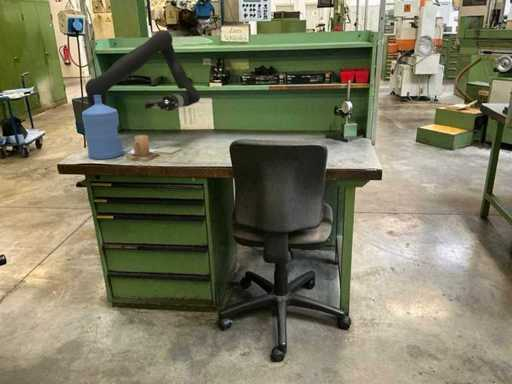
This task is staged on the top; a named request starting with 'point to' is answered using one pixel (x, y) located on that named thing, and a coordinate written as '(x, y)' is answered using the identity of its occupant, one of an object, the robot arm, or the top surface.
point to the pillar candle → (141, 146)
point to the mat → (168, 150)
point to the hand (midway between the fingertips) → (153, 106)
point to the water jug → (102, 131)
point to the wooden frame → (134, 156)
